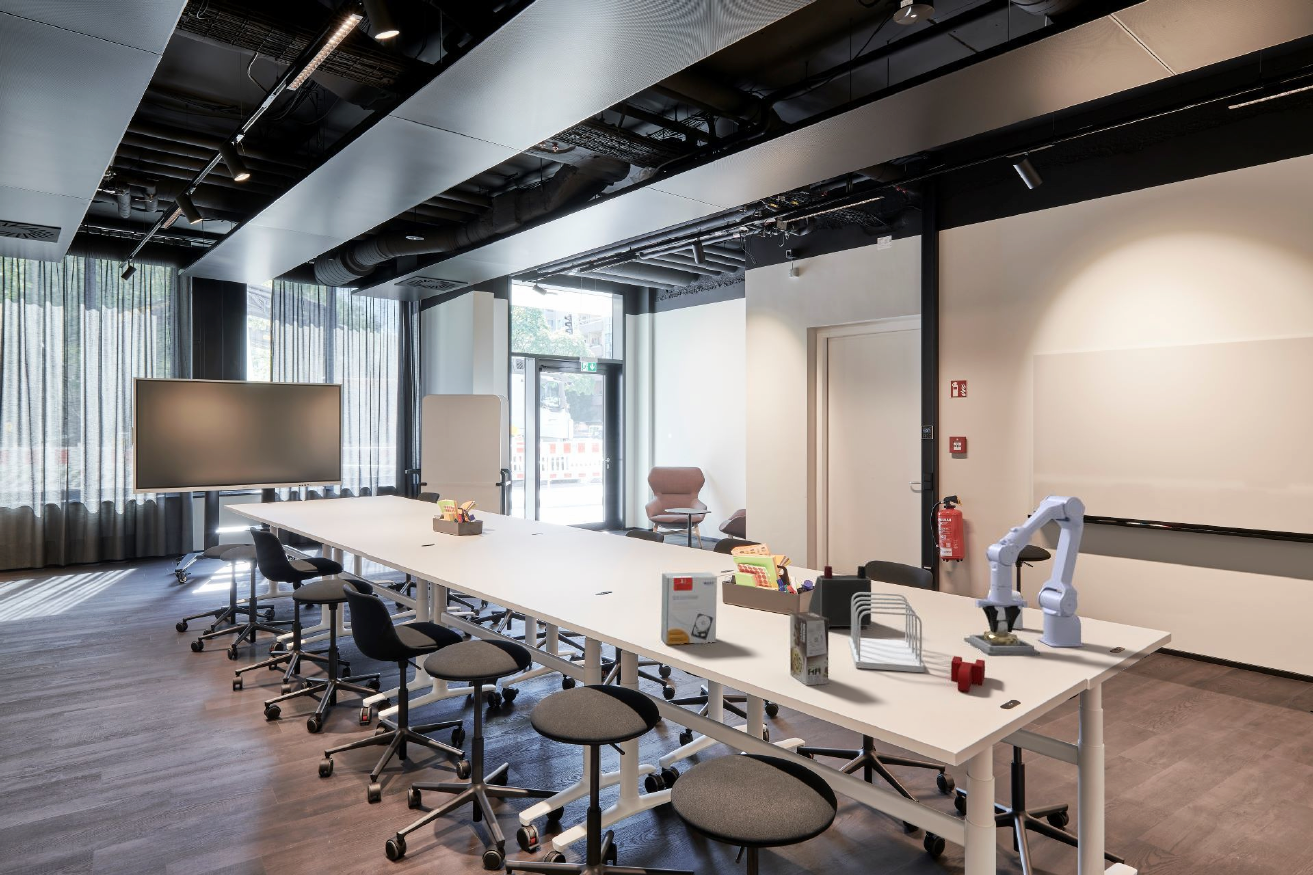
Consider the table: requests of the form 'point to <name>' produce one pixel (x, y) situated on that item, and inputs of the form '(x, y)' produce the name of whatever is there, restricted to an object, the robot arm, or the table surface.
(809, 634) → the coffee box
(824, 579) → the voltmeter
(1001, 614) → the photo printer
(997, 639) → the planet gear
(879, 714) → the table surface
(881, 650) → the file sorter
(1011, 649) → the plate
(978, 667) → the mechanical linkage
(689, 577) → the hard drive box
